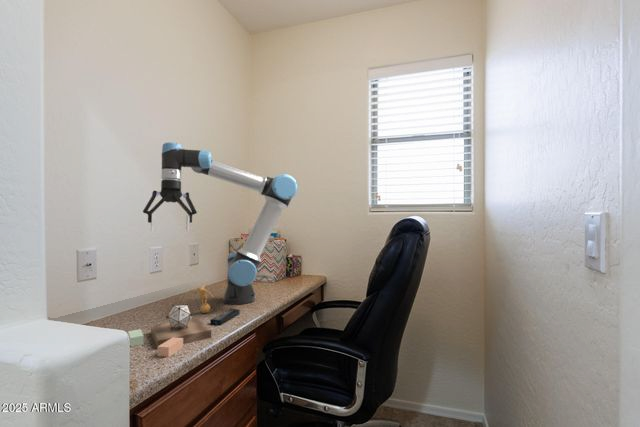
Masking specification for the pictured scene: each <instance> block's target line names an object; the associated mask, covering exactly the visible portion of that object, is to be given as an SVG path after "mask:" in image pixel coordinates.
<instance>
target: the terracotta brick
mask: <svg viewBox="0 0 640 427" xmlns="http://www.w3.org/2000/svg"><path fill="white" fill-rule="evenodd" d="M182 348H184V344H183V338H175V337H173V338H171V339H169V340H168V341H166V342H164V343H163V344H161V345H159V346H158V349H157V357H161V356H162V358H163V356H164V358H169V357H171V356H172V355H174V354H176V353H177V352H179V351H180V350H181V349H182Z"/></svg>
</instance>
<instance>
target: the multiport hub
mask: <svg viewBox="0 0 640 427" xmlns="http://www.w3.org/2000/svg"><path fill="white" fill-rule="evenodd" d="M240 313H241V310H240V309H235V308H230V309H228V310H226V311H224V312H222V313H220V314H218V315H216V316H215V317H213V318H210V325H211V326H212V325H213V326H222V325H224V324H226V323H227V322H229V321H231V320H232V319H234V318H236V317H237V316H239V315H240Z"/></svg>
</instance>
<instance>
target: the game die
mask: <svg viewBox="0 0 640 427" xmlns="http://www.w3.org/2000/svg"><path fill="white" fill-rule="evenodd" d="M189 304H190V303H189V302H188V303H186V304H182V305H174V304H173V303H172V304H171V305H172V306H171V307H172V308H171V310H170V311H169V314H168V315H166V316H165V318H166V319H168V321H169V322H168V323H170V324H171V326H172V328H171V330H172V329H173V328H177V327H186V328H188V326H187V325H188V322H189V320H190V318H191V316H192V318H193V317H194V314H193V313H191V311H190V308H189Z"/></svg>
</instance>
